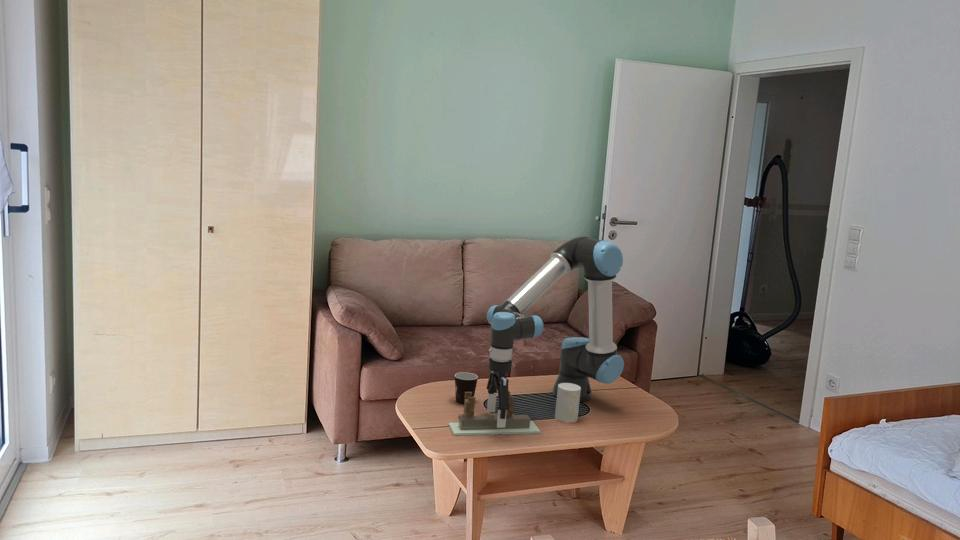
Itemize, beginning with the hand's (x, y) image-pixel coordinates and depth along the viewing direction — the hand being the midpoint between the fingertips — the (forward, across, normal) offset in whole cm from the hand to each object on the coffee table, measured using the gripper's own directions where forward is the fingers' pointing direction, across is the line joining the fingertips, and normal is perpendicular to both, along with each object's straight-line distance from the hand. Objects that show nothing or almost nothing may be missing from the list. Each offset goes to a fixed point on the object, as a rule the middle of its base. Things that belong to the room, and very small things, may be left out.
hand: (495, 419), depth 247 cm
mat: (+3, 0, 0) cm, 3 cm away
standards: (+3, -9, 0) cm, 10 cm away
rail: (+3, 0, 0) cm, 3 cm away
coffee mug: (+4, -27, -4) cm, 28 cm away
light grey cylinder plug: (+4, -8, +29) cm, 30 cm away
